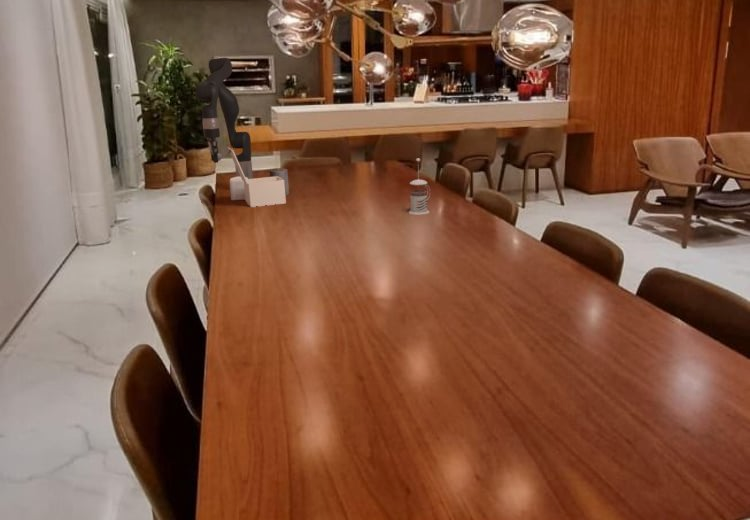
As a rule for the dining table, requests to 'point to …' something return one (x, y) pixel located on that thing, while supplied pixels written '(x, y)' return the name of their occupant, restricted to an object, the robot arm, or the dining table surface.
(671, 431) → the dining table surface
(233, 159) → the carton lid
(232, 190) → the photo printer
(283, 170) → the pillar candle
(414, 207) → the french press
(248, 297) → the dining table surface
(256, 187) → the carton
